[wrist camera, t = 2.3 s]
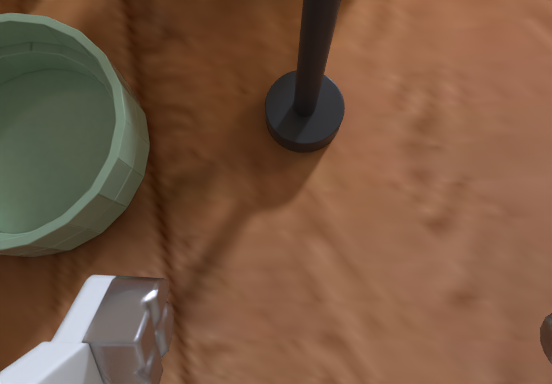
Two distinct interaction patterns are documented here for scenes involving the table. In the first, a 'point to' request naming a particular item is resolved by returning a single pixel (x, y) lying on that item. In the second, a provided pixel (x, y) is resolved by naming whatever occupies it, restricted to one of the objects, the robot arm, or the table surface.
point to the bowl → (63, 138)
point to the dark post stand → (308, 86)
